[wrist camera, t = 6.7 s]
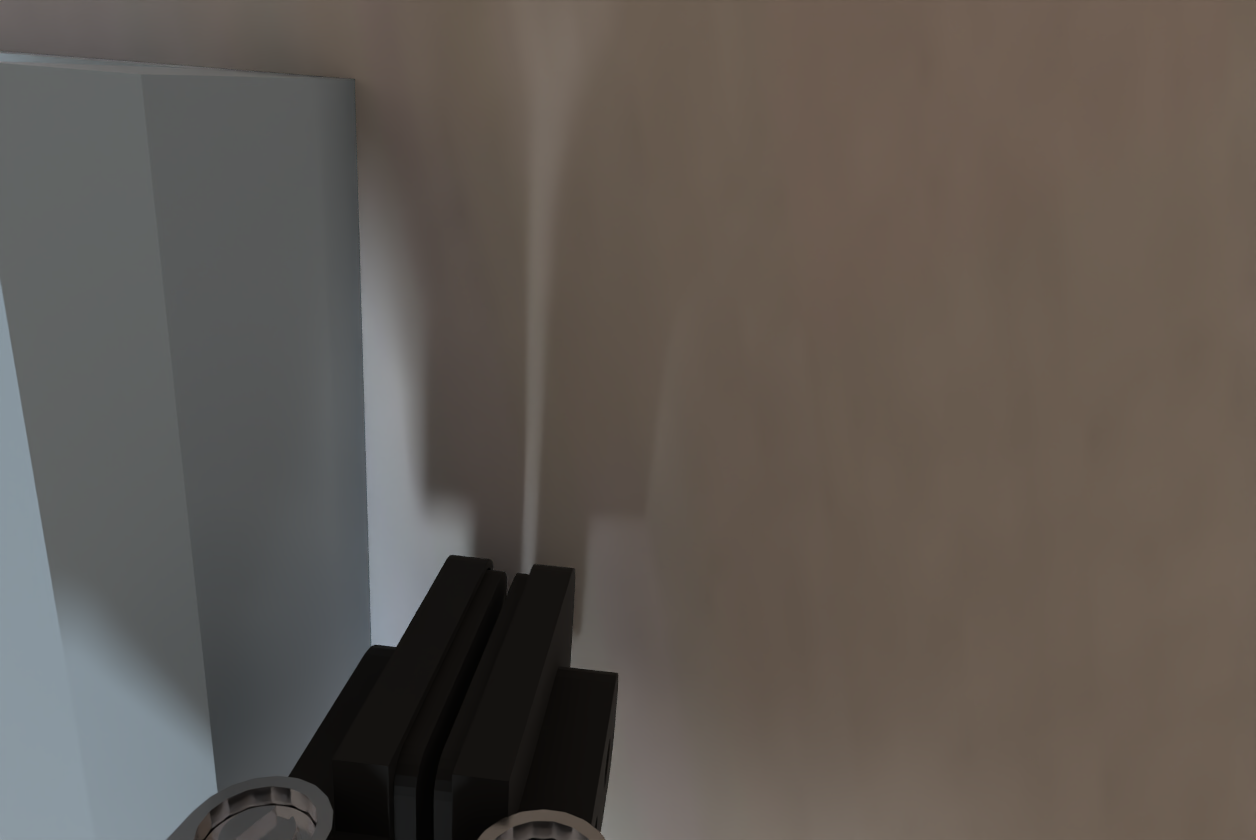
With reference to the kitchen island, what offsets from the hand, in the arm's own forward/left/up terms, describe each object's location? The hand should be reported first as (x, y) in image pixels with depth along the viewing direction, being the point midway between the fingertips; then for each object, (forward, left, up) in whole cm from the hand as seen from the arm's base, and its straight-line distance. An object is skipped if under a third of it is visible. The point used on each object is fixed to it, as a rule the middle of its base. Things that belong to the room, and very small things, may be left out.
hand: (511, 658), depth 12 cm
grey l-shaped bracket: (+7, 0, -1) cm, 7 cm away
